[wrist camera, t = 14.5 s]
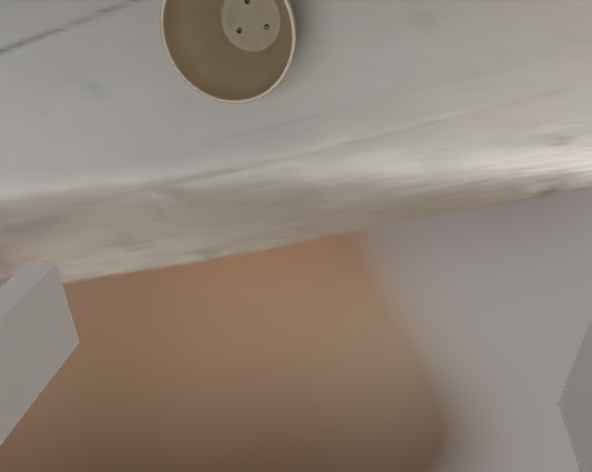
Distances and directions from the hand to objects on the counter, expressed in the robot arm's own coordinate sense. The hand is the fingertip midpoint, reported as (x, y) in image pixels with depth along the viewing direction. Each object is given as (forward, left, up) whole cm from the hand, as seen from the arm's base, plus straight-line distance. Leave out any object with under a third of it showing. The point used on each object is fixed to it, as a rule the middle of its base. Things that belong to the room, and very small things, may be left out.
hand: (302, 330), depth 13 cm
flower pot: (-10, +2, -35) cm, 36 cm away
